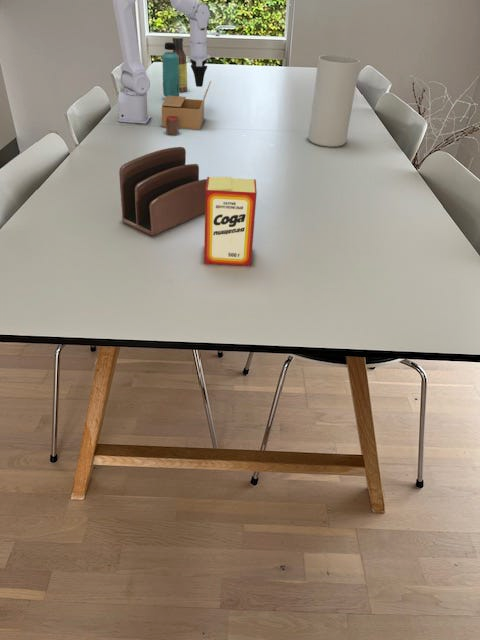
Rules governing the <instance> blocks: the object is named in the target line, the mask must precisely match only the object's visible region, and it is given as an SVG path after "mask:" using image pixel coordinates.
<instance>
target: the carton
mask: <svg viewBox="0 0 480 640" xmlns="http://www.w3.org/2000/svg"><path fill="white" fill-rule="evenodd" d="M202 101H203V99H194V98H193V99H191V98H187V96H182V95H181V96H180V95H179V96H167V97H165V99H164V101H163V102H162V103H161V127H162V128H166V117H168V116H176V117H177V118H178V129H184V130H185V129H188V130H201V129H202V128H201V127H202V126H203V123H204V120H205V101H204V102H203V104H202V106H201V103H202ZM200 106H201V108H200Z"/></svg>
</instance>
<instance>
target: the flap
mask: <svg viewBox="0 0 480 640" xmlns="http://www.w3.org/2000/svg"><path fill="white" fill-rule="evenodd" d="M211 83H212V80H210V81H209V83H208V85H207V88H206V89H205V93H204V94H203V95H204V96H203V98H202V100H203V101H202V103H201V106H202V104H203V102H204V103H205V99H206V97H207V95H208V91H209V89H210V86H211ZM201 106H200V108H201Z"/></svg>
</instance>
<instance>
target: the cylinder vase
mask: <svg viewBox="0 0 480 640" xmlns="http://www.w3.org/2000/svg"><path fill="white" fill-rule="evenodd" d="M360 63H361V60H360V59H359V58H355V57H351V56H346V55H337V54H324V55H320V56H318V61H317V68H316V75H315V82H314V90H313V98H312V105H311V113H310V121H309V122H310V123H309V129H308V140H309V142H311V143H312V144H314V145H317V146H321V147H328V148H335V147H336V148H337V147H341V146H344V145H345V144H346V143H347V137H348V132H349V126H350V121H351V114H352V110H353V109H352V108H353V105H354V104H353V103H354V98H355V93H356V85H357V80H358V75H359V69H360Z"/></svg>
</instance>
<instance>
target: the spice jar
mask: <svg viewBox="0 0 480 640" xmlns="http://www.w3.org/2000/svg"><path fill="white" fill-rule="evenodd" d="M165 134H166V135H168V136H176V135H179V128H178V118H177V117H176V116H168V117H166V127H165Z"/></svg>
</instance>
